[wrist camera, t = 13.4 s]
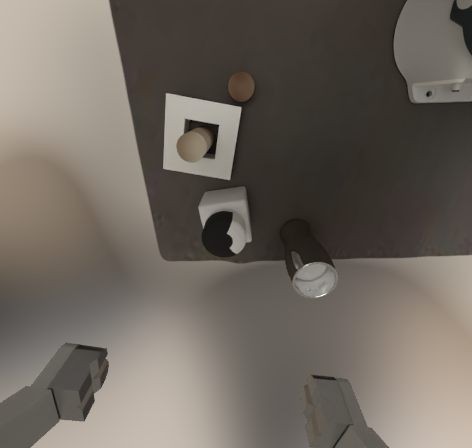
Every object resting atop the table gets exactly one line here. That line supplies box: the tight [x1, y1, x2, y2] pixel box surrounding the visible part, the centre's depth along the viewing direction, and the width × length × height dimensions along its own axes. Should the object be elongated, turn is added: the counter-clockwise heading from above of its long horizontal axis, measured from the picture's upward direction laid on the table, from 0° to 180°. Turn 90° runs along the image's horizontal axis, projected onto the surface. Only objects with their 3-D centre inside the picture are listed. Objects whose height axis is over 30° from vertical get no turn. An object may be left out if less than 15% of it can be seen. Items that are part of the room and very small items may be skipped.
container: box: [198, 186, 252, 257], centre depth 41 cm, size 8×8×13 cm
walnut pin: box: [228, 72, 254, 102], centre depth 36 cm, size 4×4×5 cm
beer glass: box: [280, 219, 338, 298], centre depth 42 cm, size 7×7×15 cm
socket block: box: [163, 93, 242, 180], centre depth 39 cm, size 11×11×4 cm
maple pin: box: [176, 126, 215, 163], centre depth 36 cm, size 4×4×12 cm
